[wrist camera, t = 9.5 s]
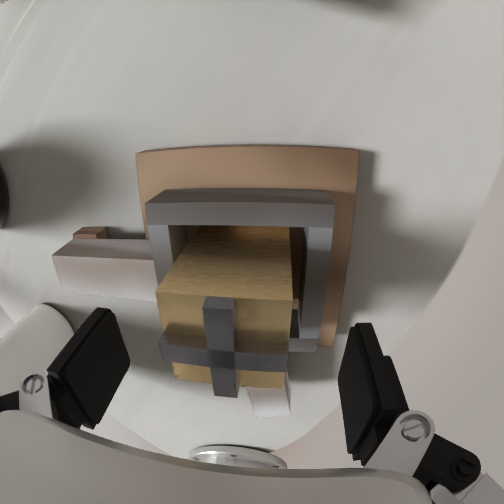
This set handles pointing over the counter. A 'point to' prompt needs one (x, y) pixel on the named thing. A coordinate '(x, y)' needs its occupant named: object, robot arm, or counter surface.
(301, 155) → the shaft rig
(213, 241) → the block
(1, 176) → the supplement bottle
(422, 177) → the counter surface
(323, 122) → the counter surface
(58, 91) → the counter surface
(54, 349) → the drinking glass
